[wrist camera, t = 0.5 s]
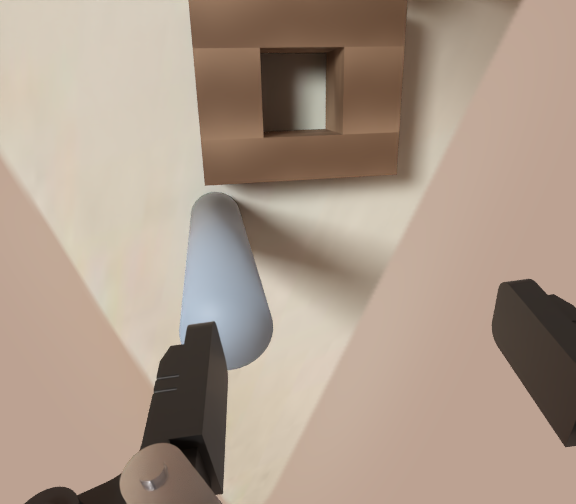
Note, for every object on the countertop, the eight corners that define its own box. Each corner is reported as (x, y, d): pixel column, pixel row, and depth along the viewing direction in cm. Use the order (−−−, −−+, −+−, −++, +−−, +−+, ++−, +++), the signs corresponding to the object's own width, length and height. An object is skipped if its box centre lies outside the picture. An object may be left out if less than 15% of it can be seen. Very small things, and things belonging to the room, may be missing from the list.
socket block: (190, 6, 26) (187, -8, 23) (381, 7, 28) (407, -5, 25) (204, 173, 30) (205, 185, 26) (373, 164, 32) (396, 174, 28)
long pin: (188, 193, 30) (174, 293, 15) (238, 190, 31) (271, 284, 16) (193, 240, 31) (184, 375, 16) (241, 237, 32) (274, 364, 17)
